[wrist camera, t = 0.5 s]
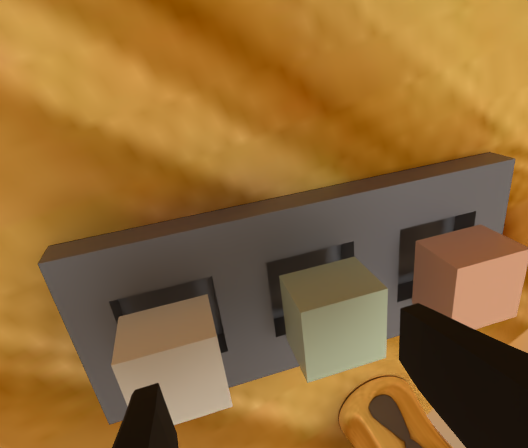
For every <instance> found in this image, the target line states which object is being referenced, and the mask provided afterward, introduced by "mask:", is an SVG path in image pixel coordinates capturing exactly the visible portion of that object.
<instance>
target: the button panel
mask: <svg viewBox="0 0 528 448" xmlns="http://www.w3.org/2000/svg"><path fill="white" fill-rule="evenodd" d="M514 164H515V158H511V157H507V156H503V155H499V154H495V153H491V152H489V153H484V154H479V155H475V156H470V157H465V158H460V159H456V160H451V161H446V162H442V163H437V164H432V165H428V166H423V167H418V168H413V169H409V170H404V171H399V172H395V173H390V174H385V175H381V176H376V177H371V178H366V179H362V180H357V181H352V182H348V183H343V184H338V185H334V186H329V187H324V188H320V189H315V190H310V191H305V192H301V193H296V194H291V195H287V196H282V197H277V198H273V199H268V200H263V201H258V202H254V203H249V204H244V205H240V206H235V207H230V208H226V209H221V210H216V211H211V212H207V213H202V214H197V215H193V216H188V217H183V218H179V219H174V220H169V221H165V222H160V223H155V224H150V225H146V226H141V227H136V228H132V229H127V230H122V231H118V232H113V233H108V234H103V235H99V236H94V237H89V238H85V239H80V240H75V241H71V242H66V243H61V244H56V245H52V246H48V248H47V249H46V251H45V253H44V254H43V256H42V258H41V259H40V261H39V263H38V266H39V268H40V270H41V272H42V275H43V277H44V279H45V281H46V284H47V286H48V288H49V290H50V293H51V295H52V297H53V299H54V302H55V304H56V306H57V308H58V311H59V313H60V315H61V317H62V320H63V322H64V324H65V326H66V329H67V331H68V333H69V335H70V338H71V340H72V342H73V344H74V346H75V349H76V351H77V353H78V355H79V358H80V360H81V362H82V364H83V367H84V369H85V371H86V373H87V376H88V378H89V380H90V382H91V385H92V387H93V389H94V391H95V394H96V396H97V398H98V400H99V403H100V405H101V407H102V409H103V412H104V414H105V416H106V418H107V421H108V423H109V424H113V423H116V422H119V421H122V420H123V418H124V416H125V413H126V410H127V407H128V406H127V404H126V401H125V399H124V396H123V394H122V391H121V389H120V386H119V384H118V382H117V379H116V377H115V374H114V372H113V369H112V367H111V363H112V357H113V350H114V344H115V337H116V331H117V324H118V318H119V317H120V316H124V315H128V314H132V313H136V312H139V311H143V310H147V309H151V308H155V307H159V306H163V305H167V304H171V303H175V302H179V301H183V300H186V299H190V298H194V297H198V296H202V295H206V294H208V299H209V303H210V307H211V312H212V316H213V321H214V325H215V330H216V334H217V338H218V343H219V347H220V352H221V356H222V361H223V365H224V369H225V374H226V378H227V383H228V387H229V388H230V387H233V386H236V385H239V384H243V383H246V382H249V381H252V380H256V379H259V378H262V377H265V376H269V375H272V374H275V373H278V372H282V371H285V370H288V369H291V368H295V367H298V366H299V364H298V362H297V360H296V358H295V355H294V353H293V351H292V349H291V347H290V345H289V343H288V341H287V337H286V329H285V320H284V312H283V304H282V296H281V288H280V280H279V276H280V275H284V274H288V273H292V272H296V271H300V270H304V269H308V268H312V267H316V266H320V265H323V264H327V263H331V262H335V261H339V260H343V259H347V258H351V257H356V258H357V259H358V260H359V261H360V262H361V263H362V264H363V265H364V266H365V267H366V268H367V269H368V270H369V271H370V272H371V273H372V274H373V275H374V276H375V277H376V278H377V279H378V280H380V281H381V282H382V283H383V284H384V285H385V286H386V287H387V288H388V305H387V339H389V338H392V337H395V336H399V335H400V308H403V307H406V306H410V305H413V303H412V293H413V277H414V261H415V244H416V241H417V240H421V239H425V238H429V237H433V236H437V235H441V234H445V233H449V232H453V231H457V230H460V229H464V228H468V227H472V226H476V225H480V224H481V225H483V226H485V227H487V228H489V229H491V230H493V231H495V232H498V233H500V234H502V233H503V227H504V222H505V216H506V210H507V204H508V198H509V193H510V187H511V181H512V175H513V170H514Z"/></svg>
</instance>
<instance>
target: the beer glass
mask: <svg viewBox="0 0 528 448" xmlns="http://www.w3.org/2000/svg"><path fill="white" fill-rule="evenodd" d="M339 424H340V428H341V430H342V432H343V433H344V435H345V436H346V437H347V439H348V440H349V441H350V443H351V444H352V445H353V447H354V448H454V447H453V446H452V445H451V444H449V443H448V441H447V440H446V439H445V438H444V437H443V436H442V435H441V434H440V432H439V431H438V430H437V429H436V428H435V426H434V425H433V424H432V422H431V421H430V420H429V418H428V417H427V415H426V413H425V412H424V410H423V408H422V406H421V404H420V402H419V401H418V399H417V397H416V395H415V393H414V391H413V390H412V388H411V387H410V385H409V384H408V383H407V382H406V381H404V380H403V379H401V378H398V377H392V376H387V377H380V378H376V379H373V380H371V381H369V382H367V383H365V384H363V385H362V386H360V387H359V388H357V389H356V390H355V391H354V392H353V393H352V394H351V395H350V396H349V397H348V398H347V400H346V401H345V402H344V404H343V406H342V408H341V411H340V414H339Z"/></svg>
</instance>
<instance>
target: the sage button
mask: <svg viewBox="0 0 528 448" xmlns="http://www.w3.org/2000/svg"><path fill="white" fill-rule="evenodd" d="M279 280H280V288H281V296H282V304H283V312H284V320H285V329H286V337H287V341H288V343H289V345H290V347H291V349H292V351H293V353H294V355H295V358H296V360H297V362H298V364H299V366H300V368H301V370H302V372H303V374H304V376H305V378H306V381H307V383H308V382H312V381H315V380H318V379H321V378H324V377H327V376H330V375H334V374H337V373H340V372H343V371H346V370H349V369H352V368H356V367H359V366H362V365H365V364H368V363H371V362H374V361H378V360H381V359H384V358H386V342H387V305H388V288H387V287H386V286H385V285H384V284H383V283H382V282H381V281H380V280H378V279H377V278H376V277H375V276H374V275H373V274H372V273H371V272H370V271H369V270H368V269H367V268H366V267H365V266H364V265H363V264H362V263H361V262H360V261H359V260H358V259H357V258H356V257H351V258H347V259H343V260H339V261H335V262H331V263H327V264H323V265H320V266H316V267H312V268H308V269H304V270H300V271H296V272H292V273H288V274H284V275H280V276H279Z"/></svg>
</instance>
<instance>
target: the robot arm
mask: <svg viewBox="0 0 528 448" xmlns="http://www.w3.org/2000/svg"><path fill="white" fill-rule="evenodd" d="M399 360H400V362H401V363H402V365H403V366H404V368H405V370H406V371H407V373H408V374H409V376H410V378H411V379H412V381H413V382H414V384H415V385H416V387H417V388H418V390H419V391H420V392H421V393H422V395H423V396H424V397H425V398H426V400H427V401H428V402H429V403H430V405H431V406H432V407H433V408H434V409H435V411H436V412H437V413H438V414H439V416H440V417H441V418H442V419H443V420H444V422H445V423H446V424H447V425H448V426H449V428H450V429H451V430H452V431H453V432H454V434H456V436H457V437H458V438H459V440H460V441H461V442H462V443H463V444H464V445H465V447H466V448H528V353H526V352H524V351H521V350H519V349H516V348H514V347H512V346H510V345H507V344H505V343H503V342H501V341H498V340H496V339H494V338H492V337H490V336H487V335H485V334H483V333H481V332H479V331H477V330H475V329H473V328H470V327H468V326H466V325H464V324H462V323H460V322H458V321H456V320H454V319H452V318H450V317H448V316H446V315H443V314H441V313H439V312H437V311H435V310H433V309H431V308H429V307H426V306H424V305H422V304H420V303H416V304H413V305H410V306H406V307H403V308H400V340H399ZM112 448H178V440H177V433H176V430H175V427H174V425H173V422H172V419H171V416H170V413H169V411H168V408H167V405H166V402H165V400H164V397H163V394H162V391H161V388H160V386H159V383H155V384H152V385H149V386H146V387H142V388H139V389H136V390H135V391H134V392H133V393H132V395H131V398H130V401H129V404H128V407H127V410H126V413H125V416H124V418H123V421H122V424H121V426H120V429H119V432H118V434H117V437H116V439H115V442H114V444H113V447H112Z"/></svg>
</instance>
